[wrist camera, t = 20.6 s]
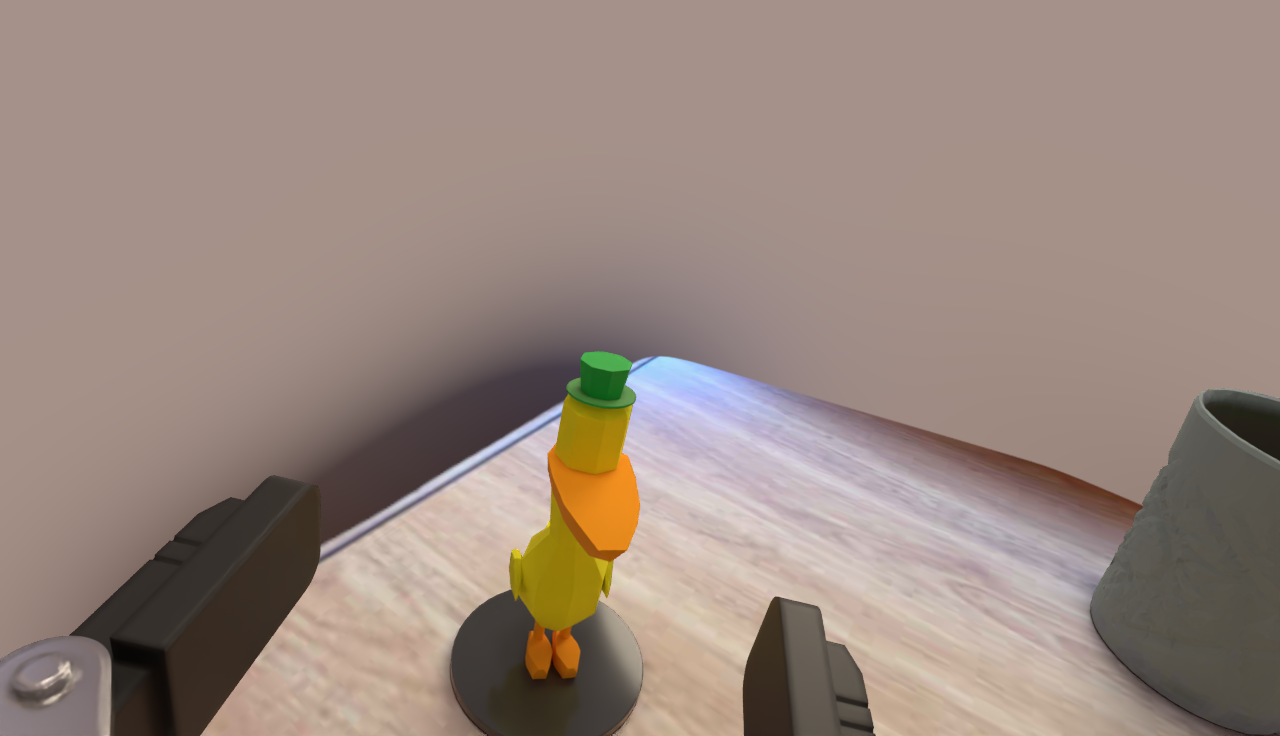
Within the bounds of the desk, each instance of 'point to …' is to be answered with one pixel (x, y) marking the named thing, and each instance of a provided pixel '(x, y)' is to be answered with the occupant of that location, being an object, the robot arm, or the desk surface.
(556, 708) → the coaster
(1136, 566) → the grey green cup
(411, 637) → the desk surface
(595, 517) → the toy figure
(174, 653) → the robot arm
